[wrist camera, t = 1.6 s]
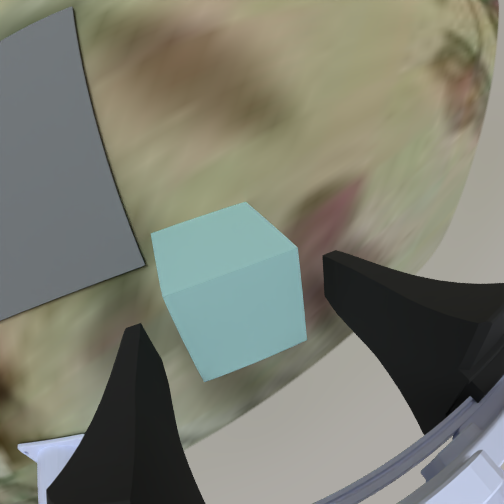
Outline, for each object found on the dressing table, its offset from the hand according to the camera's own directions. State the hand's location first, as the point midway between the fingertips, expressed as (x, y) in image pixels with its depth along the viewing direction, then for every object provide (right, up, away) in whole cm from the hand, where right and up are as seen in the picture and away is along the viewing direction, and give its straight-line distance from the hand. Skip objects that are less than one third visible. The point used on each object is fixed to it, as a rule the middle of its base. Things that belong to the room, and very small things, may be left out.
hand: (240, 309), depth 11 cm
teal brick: (-2, +2, +4) cm, 4 cm away
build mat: (-11, +5, -2) cm, 12 cm away
